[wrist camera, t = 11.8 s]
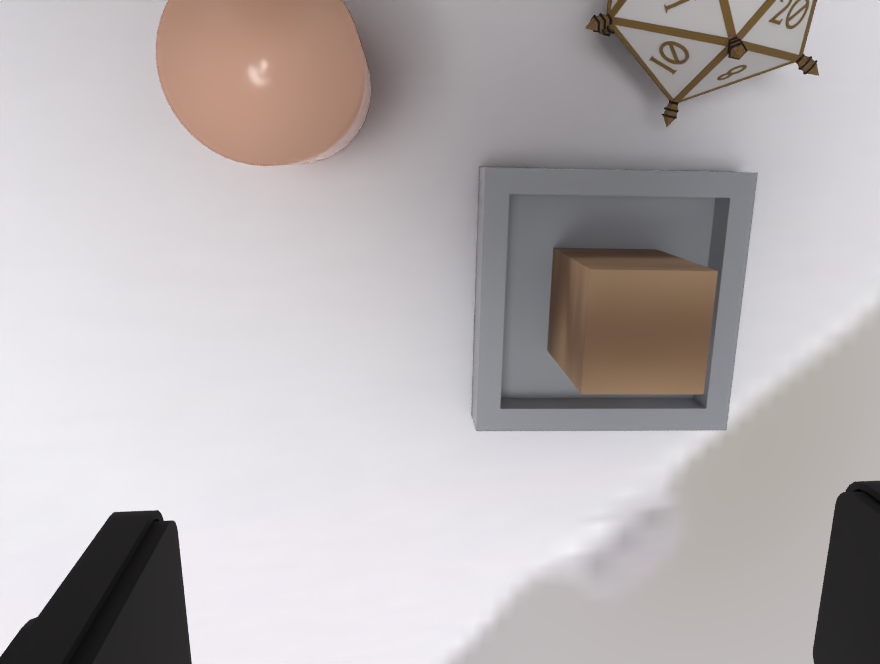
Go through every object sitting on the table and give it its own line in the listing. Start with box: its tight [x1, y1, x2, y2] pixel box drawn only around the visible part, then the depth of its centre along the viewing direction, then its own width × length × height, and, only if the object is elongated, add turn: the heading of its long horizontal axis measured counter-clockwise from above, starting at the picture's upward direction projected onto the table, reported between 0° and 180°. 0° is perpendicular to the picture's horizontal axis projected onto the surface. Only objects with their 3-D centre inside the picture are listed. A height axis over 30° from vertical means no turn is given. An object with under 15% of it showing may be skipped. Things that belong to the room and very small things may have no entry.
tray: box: [471, 167, 758, 431], centre depth 31 cm, size 11×11×2 cm
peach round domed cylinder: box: [156, 0, 371, 166], centre depth 25 cm, size 6×6×8 cm
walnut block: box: [547, 248, 718, 394], centre depth 28 cm, size 4×4×6 cm
